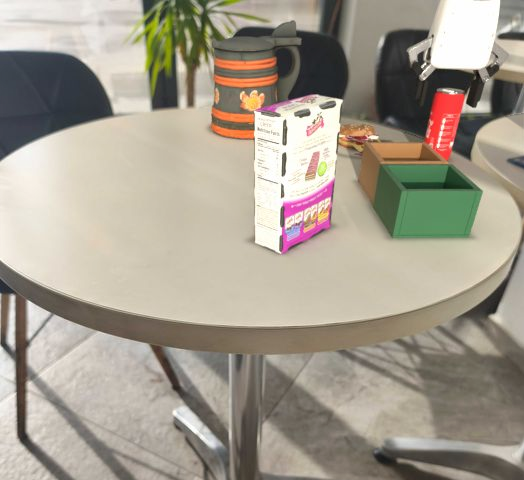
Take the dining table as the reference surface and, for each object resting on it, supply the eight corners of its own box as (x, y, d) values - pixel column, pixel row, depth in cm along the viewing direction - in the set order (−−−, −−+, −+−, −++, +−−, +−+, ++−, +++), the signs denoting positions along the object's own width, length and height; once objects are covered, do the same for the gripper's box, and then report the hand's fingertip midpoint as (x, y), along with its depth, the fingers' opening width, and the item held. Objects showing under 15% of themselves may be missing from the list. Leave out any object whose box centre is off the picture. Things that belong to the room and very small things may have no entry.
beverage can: (438, 167, 91) (455, 95, 83) (414, 159, 94) (429, 89, 86) (453, 161, 94) (471, 91, 86) (430, 154, 97) (445, 86, 89)
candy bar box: (302, 218, 71) (312, 92, 61) (331, 228, 69) (346, 98, 59) (250, 243, 64) (252, 106, 54) (280, 256, 62) (287, 115, 52)
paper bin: (416, 184, 83) (426, 142, 79) (437, 207, 76) (449, 162, 71) (358, 184, 83) (364, 141, 79) (372, 208, 75) (380, 162, 71)
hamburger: (309, 147, 98) (311, 115, 95) (352, 135, 106) (356, 105, 102) (365, 165, 91) (371, 130, 87) (408, 151, 98) (415, 118, 95)
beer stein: (280, 118, 116) (284, 16, 104) (308, 135, 106) (317, 23, 93) (202, 124, 110) (197, 16, 98) (224, 142, 100) (222, 24, 87)
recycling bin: (440, 209, 75) (452, 163, 71) (468, 240, 67) (483, 191, 63) (372, 209, 74) (380, 163, 70) (391, 241, 66) (401, 191, 62)
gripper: (516, -13, 81) (482, 101, 92) (413, -18, 79) (391, 98, 90) (539, -10, 75) (500, 112, 86) (428, -16, 74) (403, 109, 84)
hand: (444, 105), depth 88 cm, fingers open, 9 cm apart
